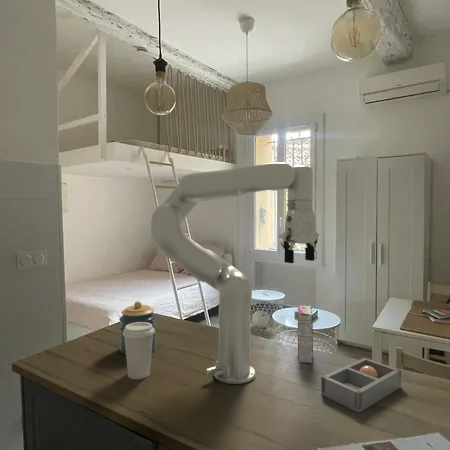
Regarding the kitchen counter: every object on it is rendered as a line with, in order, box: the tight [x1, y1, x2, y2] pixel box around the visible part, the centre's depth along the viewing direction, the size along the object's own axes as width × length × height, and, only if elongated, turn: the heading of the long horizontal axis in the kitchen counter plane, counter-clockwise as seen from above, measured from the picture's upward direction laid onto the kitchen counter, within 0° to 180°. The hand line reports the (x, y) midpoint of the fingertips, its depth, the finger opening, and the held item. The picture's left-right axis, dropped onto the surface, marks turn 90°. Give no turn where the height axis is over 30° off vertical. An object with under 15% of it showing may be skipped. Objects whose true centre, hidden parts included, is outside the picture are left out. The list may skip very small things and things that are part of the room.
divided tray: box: [320, 357, 402, 413], centre depth 97 cm, size 21×11×5 cm, turn 127°
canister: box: [118, 300, 157, 356], centre depth 126 cm, size 13×13×18 cm
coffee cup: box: [122, 322, 155, 380], centre depth 107 cm, size 10×10×15 cm
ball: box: [359, 366, 378, 378], centre depth 99 cm, size 5×5×5 cm
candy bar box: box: [297, 305, 314, 364], centre depth 120 cm, size 11×5×16 cm, turn 168°
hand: (299, 261), depth 109 cm, fingers open, 9 cm apart
